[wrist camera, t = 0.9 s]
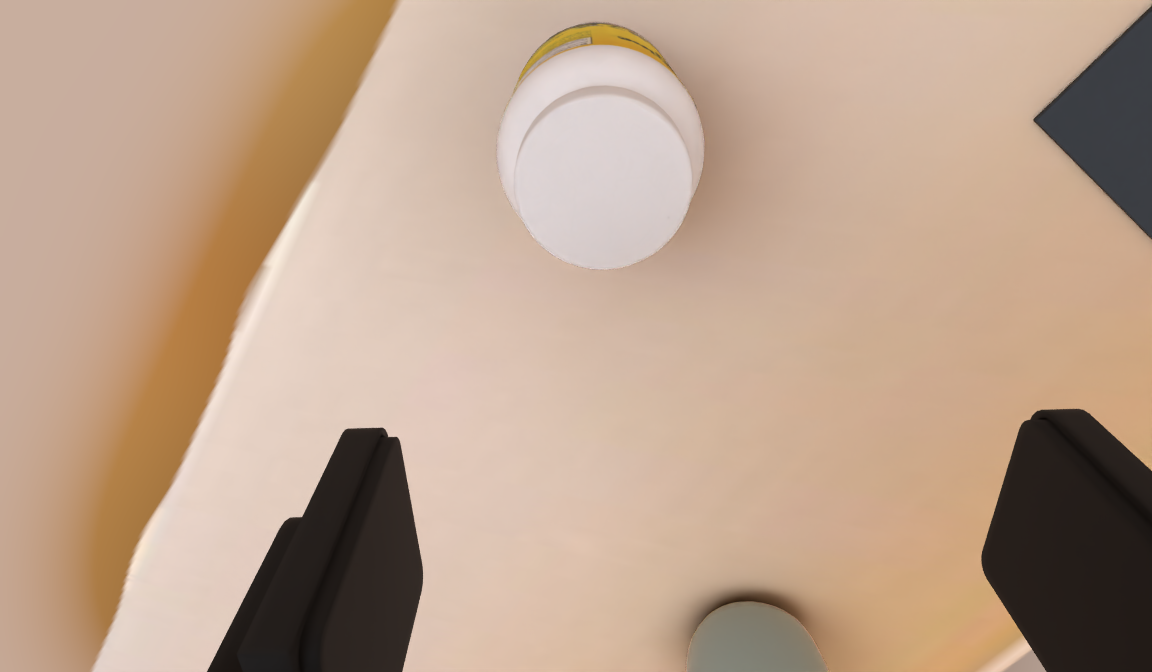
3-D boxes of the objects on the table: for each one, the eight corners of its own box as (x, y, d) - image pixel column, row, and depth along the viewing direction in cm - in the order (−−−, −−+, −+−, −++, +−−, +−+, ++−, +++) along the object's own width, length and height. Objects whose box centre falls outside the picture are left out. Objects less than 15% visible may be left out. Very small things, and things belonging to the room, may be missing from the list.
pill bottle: (702, 132, 29) (764, 229, 19) (569, 209, 31) (565, 335, 21) (626, -17, 27) (652, 9, 17) (484, 76, 28) (435, 148, 18)
